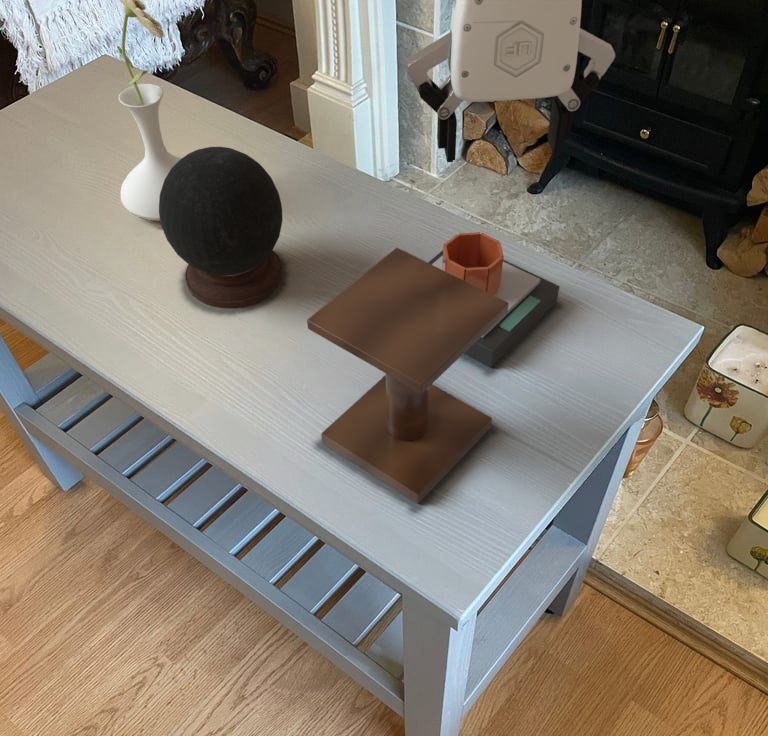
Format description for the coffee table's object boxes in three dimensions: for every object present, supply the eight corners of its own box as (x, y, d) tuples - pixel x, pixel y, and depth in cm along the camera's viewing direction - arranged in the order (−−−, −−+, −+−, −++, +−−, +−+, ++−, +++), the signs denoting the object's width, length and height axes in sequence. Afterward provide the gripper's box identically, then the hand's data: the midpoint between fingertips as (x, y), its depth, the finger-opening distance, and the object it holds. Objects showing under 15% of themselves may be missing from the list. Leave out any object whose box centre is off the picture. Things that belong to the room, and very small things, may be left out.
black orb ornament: (300, 244, 97) (286, 125, 85) (277, 318, 90) (258, 199, 78) (195, 236, 99) (166, 117, 86) (163, 309, 91) (127, 190, 79)
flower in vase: (220, 221, 100) (173, 2, 80) (127, 236, 99) (56, 18, 78) (206, 163, 108) (160, -51, 87) (120, 177, 106) (53, -37, 85)
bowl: (493, 265, 90) (497, 231, 86) (502, 301, 87) (506, 267, 83) (439, 268, 90) (441, 234, 86) (445, 305, 86) (447, 271, 83)
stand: (491, 427, 80) (509, 302, 67) (417, 504, 75) (421, 385, 62) (397, 374, 85) (396, 246, 72) (321, 443, 80) (306, 319, 66)
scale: (556, 303, 91) (561, 281, 88) (491, 368, 85) (493, 347, 83) (456, 254, 96) (457, 233, 93) (388, 313, 90) (387, 291, 88)
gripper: (410, -40, 57) (410, 180, 71) (651, -55, 57) (605, 167, 71) (401, -81, 61) (403, 134, 75) (626, -95, 62) (586, 122, 76)
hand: (501, 150), depth 73 cm, fingers open, 9 cm apart
